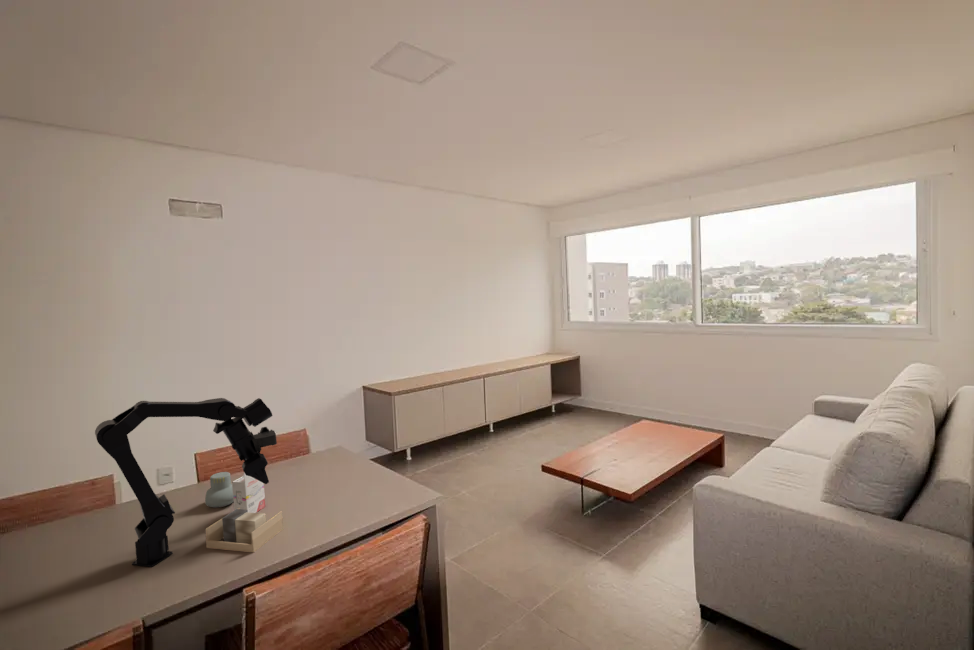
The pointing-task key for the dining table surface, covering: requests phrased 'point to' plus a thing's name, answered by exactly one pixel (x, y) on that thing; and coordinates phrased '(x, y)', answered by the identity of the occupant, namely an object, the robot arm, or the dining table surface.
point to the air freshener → (219, 490)
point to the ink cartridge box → (248, 494)
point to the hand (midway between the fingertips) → (265, 477)
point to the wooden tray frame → (258, 535)
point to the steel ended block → (241, 525)
